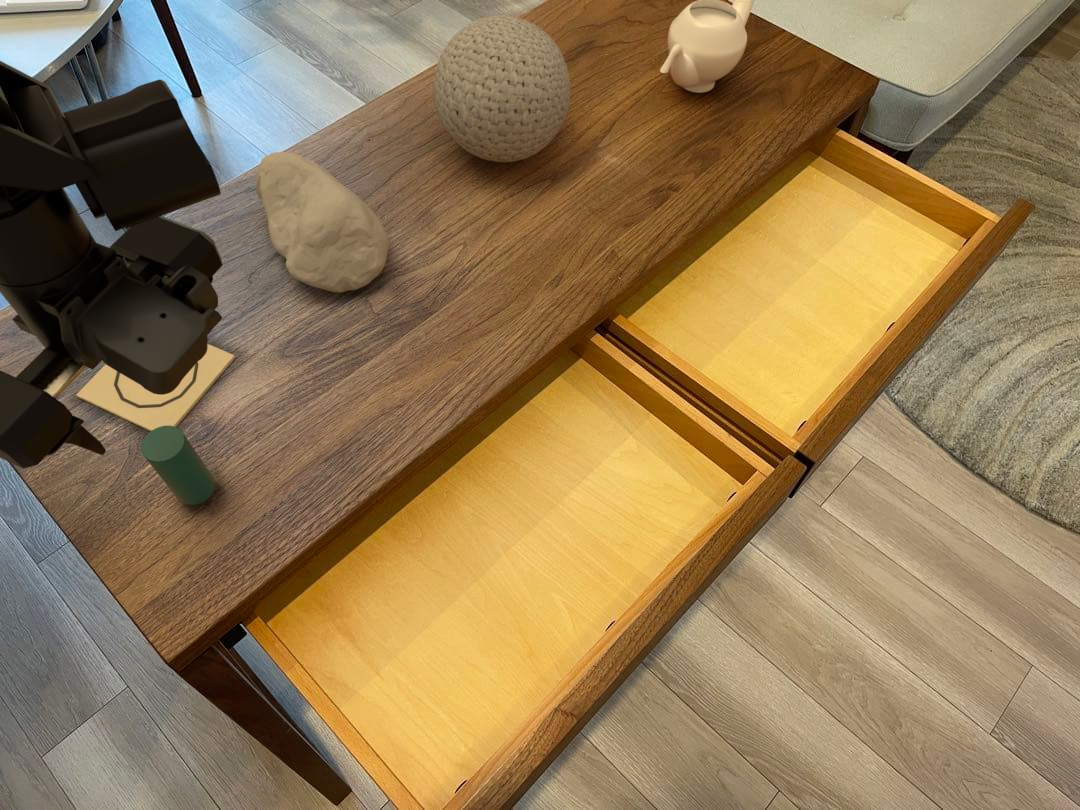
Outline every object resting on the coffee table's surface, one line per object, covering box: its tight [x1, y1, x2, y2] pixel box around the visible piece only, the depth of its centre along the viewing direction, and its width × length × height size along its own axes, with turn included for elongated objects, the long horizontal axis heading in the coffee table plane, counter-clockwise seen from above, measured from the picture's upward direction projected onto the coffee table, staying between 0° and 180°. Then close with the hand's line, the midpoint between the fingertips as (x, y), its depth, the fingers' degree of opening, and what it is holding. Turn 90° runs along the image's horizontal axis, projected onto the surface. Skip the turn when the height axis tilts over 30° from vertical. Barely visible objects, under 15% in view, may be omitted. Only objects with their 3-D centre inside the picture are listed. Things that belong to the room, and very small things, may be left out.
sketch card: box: [76, 343, 236, 432], centre depth 73 cm, size 10×10×1 cm
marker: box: [140, 426, 216, 508], centre depth 63 cm, size 3×3×8 cm
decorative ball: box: [433, 14, 572, 163], centre depth 86 cm, size 15×15×15 cm
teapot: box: [659, 0, 755, 94], centre depth 97 cm, size 10×20×9 cm, turn 140°
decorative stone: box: [255, 151, 391, 294], centre depth 80 cm, size 17×10×10 cm
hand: (143, 401), depth 57 cm, fingers open, 9 cm apart
